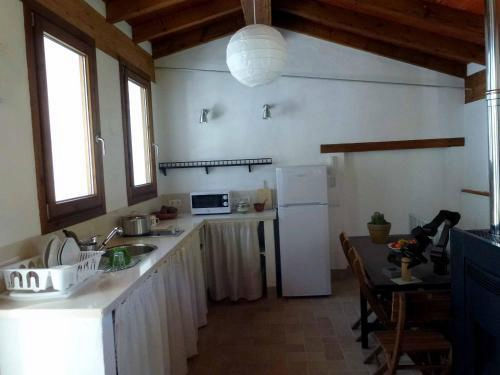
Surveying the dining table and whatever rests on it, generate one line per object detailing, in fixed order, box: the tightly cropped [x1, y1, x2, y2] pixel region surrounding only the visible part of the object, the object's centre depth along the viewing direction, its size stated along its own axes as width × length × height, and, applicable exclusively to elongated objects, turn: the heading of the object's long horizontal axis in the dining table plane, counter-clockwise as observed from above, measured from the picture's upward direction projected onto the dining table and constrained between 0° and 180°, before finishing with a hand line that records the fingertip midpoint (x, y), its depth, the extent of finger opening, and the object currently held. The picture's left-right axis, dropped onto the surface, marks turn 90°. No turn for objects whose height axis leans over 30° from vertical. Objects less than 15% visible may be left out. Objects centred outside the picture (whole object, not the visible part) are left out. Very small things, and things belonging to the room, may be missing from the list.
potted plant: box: [366, 211, 392, 245], centre depth 306 cm, size 18×19×25 cm
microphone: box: [386, 253, 402, 268], centre depth 246 cm, size 6×6×20 cm
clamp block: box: [381, 265, 402, 279], centre depth 225 cm, size 11×11×4 cm
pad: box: [389, 275, 423, 286], centre depth 214 cm, size 14×9×1 cm, turn 101°
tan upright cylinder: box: [400, 257, 412, 281], centre depth 213 cm, size 5×5×12 cm
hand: (403, 267), depth 213 cm, fingers open, 6 cm apart
